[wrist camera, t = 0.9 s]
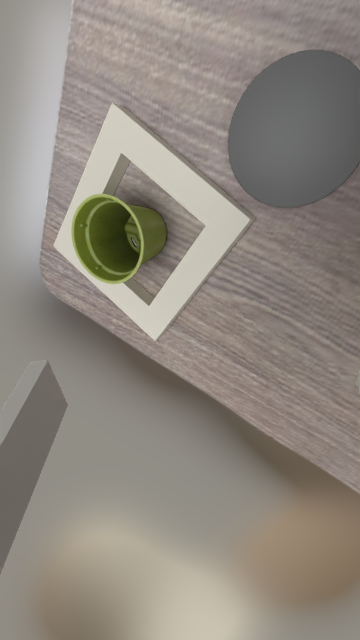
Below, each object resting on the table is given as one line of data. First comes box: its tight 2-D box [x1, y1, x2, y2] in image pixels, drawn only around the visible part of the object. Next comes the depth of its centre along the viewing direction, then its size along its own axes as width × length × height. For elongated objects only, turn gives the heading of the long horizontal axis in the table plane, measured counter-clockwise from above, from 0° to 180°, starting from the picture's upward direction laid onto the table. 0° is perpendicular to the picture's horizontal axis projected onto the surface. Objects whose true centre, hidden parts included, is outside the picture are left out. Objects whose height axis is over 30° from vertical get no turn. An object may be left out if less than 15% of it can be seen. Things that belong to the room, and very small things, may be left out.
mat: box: [228, 50, 360, 208], centre depth 30 cm, size 13×13×1 cm
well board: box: [54, 103, 255, 341], centre depth 40 cm, size 20×20×2 cm
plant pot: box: [71, 194, 167, 284], centre depth 37 cm, size 9×9×9 cm
